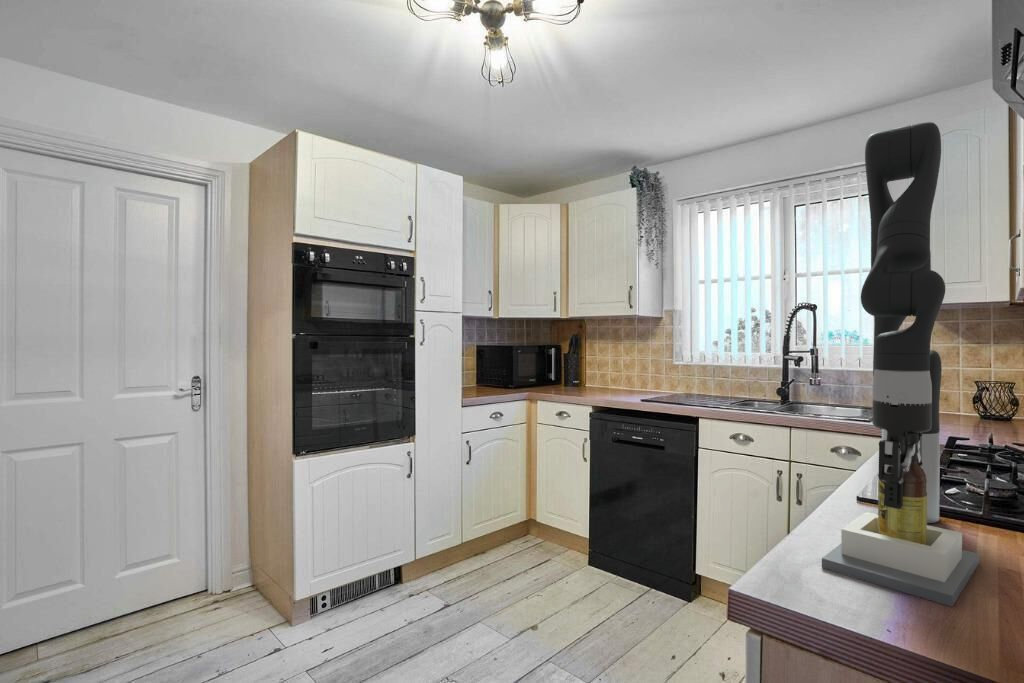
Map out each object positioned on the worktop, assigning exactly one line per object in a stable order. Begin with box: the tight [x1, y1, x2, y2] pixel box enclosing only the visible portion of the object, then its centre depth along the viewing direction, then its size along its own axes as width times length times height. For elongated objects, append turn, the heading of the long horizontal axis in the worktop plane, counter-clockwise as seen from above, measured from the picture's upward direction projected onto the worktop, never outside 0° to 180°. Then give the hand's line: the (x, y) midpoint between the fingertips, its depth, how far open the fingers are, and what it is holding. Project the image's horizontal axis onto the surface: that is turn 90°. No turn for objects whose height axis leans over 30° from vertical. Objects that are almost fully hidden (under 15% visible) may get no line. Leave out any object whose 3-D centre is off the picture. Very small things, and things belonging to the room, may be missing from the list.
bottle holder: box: [821, 511, 980, 607], centre depth 84 cm, size 20×16×6 cm
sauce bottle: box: [877, 432, 928, 545], centre depth 84 cm, size 7×6×20 cm
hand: (901, 501), depth 84 cm, fingers open, 8 cm apart
